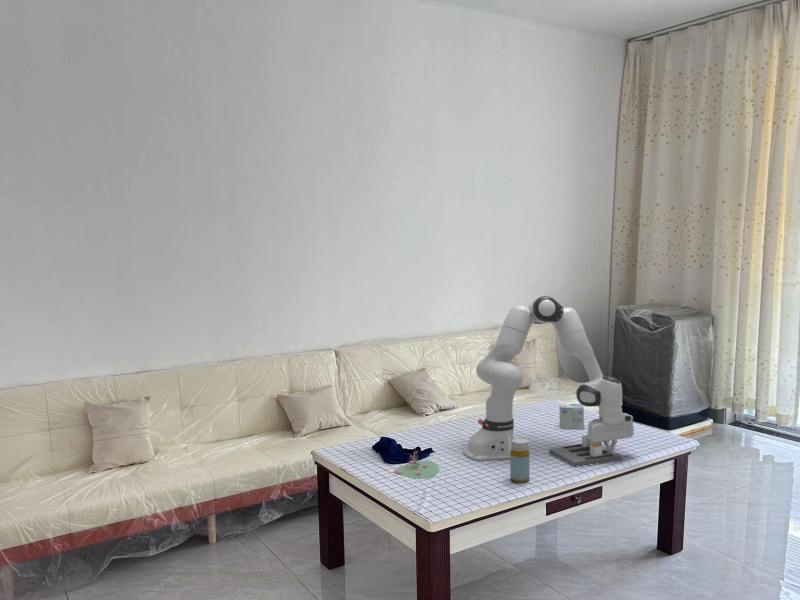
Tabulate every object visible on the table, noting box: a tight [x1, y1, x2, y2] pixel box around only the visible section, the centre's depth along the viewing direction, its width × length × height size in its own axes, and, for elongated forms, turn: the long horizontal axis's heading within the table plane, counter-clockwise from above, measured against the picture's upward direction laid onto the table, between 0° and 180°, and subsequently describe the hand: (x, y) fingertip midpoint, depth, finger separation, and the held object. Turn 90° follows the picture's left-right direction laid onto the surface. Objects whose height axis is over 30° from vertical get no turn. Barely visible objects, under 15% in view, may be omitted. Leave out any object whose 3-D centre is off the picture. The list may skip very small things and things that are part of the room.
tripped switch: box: [590, 443, 603, 457], centre depth 254 cm, size 4×3×4 cm
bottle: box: [509, 437, 530, 483], centre depth 235 cm, size 7×7×15 cm
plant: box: [393, 447, 440, 480], centre depth 246 cm, size 25×21×9 cm
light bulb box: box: [558, 403, 585, 430], centre depth 300 cm, size 11×7×11 cm, turn 84°
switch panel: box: [548, 434, 622, 468], centre depth 259 cm, size 22×18×6 cm
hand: (610, 450), depth 257 cm, fingers closed
